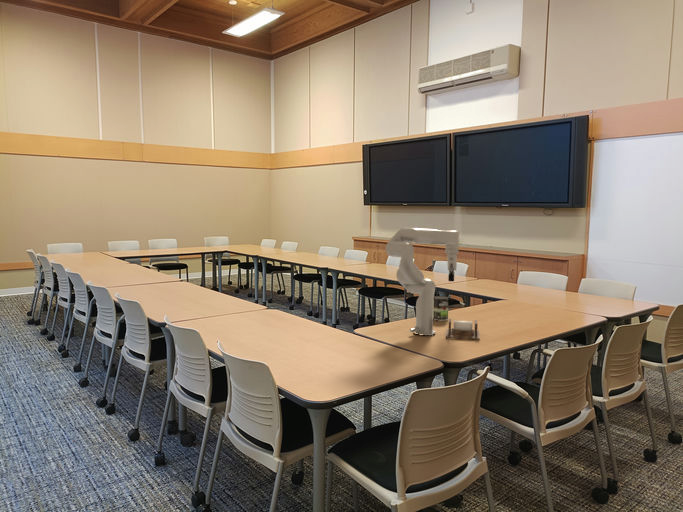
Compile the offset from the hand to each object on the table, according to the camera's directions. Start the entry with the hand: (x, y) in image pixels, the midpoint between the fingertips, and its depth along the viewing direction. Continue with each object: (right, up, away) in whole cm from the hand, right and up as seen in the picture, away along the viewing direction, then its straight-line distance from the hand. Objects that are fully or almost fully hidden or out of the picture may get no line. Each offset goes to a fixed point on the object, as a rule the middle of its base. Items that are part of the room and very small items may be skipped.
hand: (451, 279), depth 285 cm
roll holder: (+2, -30, -17) cm, 35 cm away
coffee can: (-3, -26, +21) cm, 34 cm away
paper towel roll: (+2, -25, -18) cm, 31 cm away
